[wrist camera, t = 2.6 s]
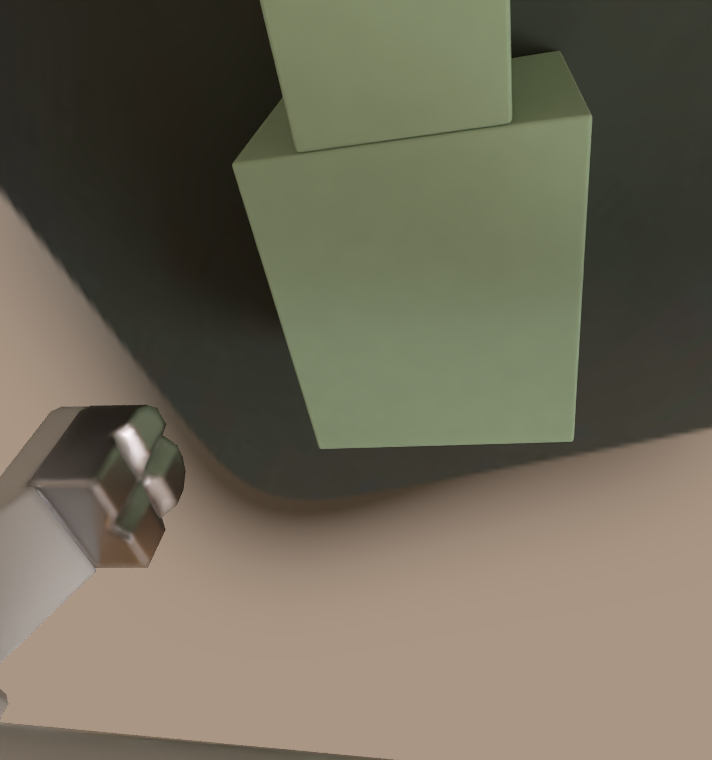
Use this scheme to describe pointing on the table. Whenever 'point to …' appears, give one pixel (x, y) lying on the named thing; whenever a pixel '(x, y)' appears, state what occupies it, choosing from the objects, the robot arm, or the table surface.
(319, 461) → the table surface
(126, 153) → the table surface
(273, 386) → the table surface
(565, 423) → the sage block
